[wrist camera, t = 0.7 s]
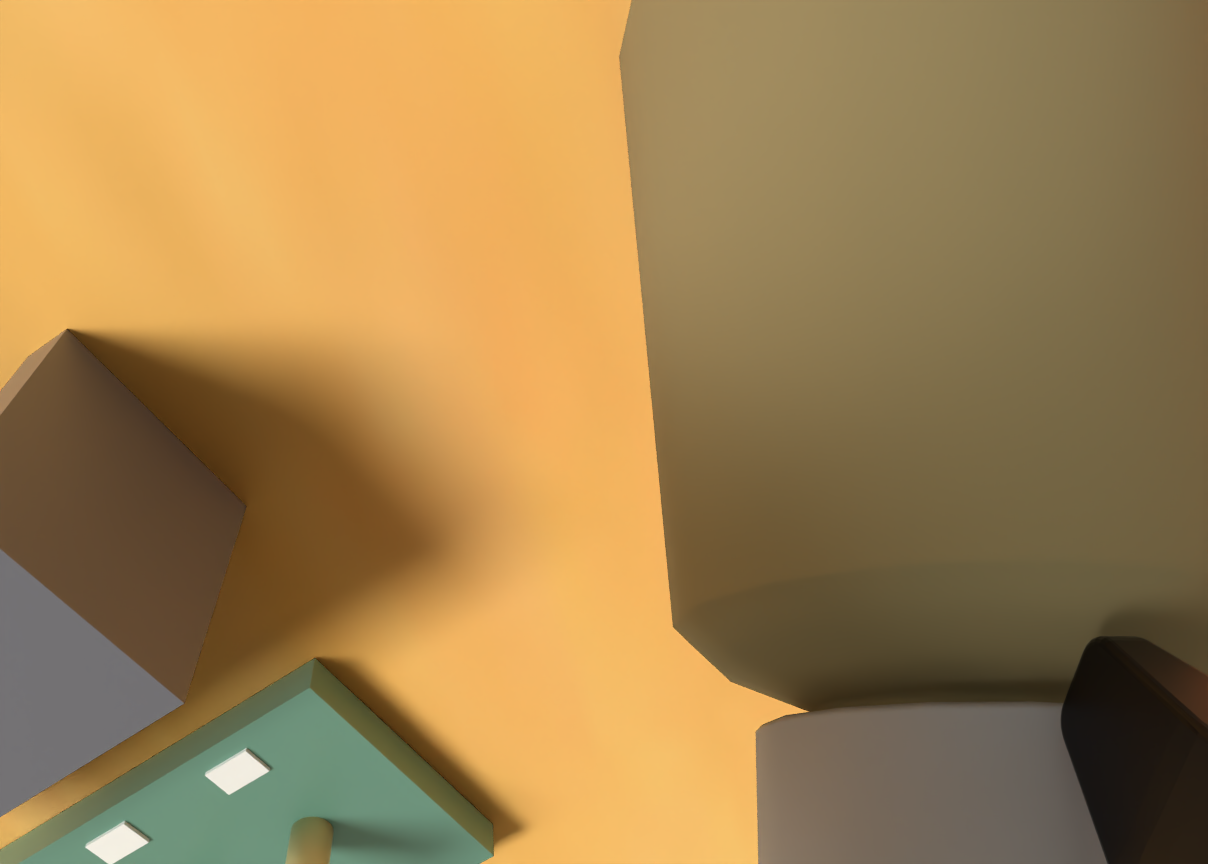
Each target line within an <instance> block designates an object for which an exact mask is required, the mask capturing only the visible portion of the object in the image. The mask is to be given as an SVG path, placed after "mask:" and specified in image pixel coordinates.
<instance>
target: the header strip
mask: <svg viewBox="0 0 1208 864" xmlns="http://www.w3.org/2000/svg"><path fill="white" fill-rule="evenodd" d="M493 856H494V843H493V824H492V823H491V822H490V821H489V820H488V819H487V818H486V817H484V816H483V815H482V814H481V813H480V812H479V811H478V810H477V809H476V808H475V807H474V806H473V805H472V804H471V803H469V802H468V801H467V800H466V799H465V798H464V797H463V796H462V795H461V794H460V793H459V792H458V791H457V790H456V789H455V788H453V787H452V786H451V785H450V784H449V783H448V782H447V781H446V780H445V779H444V778H443V777H442V776H441V775H440V774H438V773H437V772H436V771H435V770H434V769H433V768H432V767H431V766H430V765H429V764H428V763H427V762H426V761H425V760H423V759H422V758H421V757H420V756H419V755H418V754H417V753H416V752H415V751H414V750H413V749H412V748H411V747H410V746H408V745H407V744H406V743H405V742H404V741H403V740H402V739H401V738H400V737H399V736H398V735H397V734H396V733H395V732H394V731H392V730H391V729H390V728H389V727H388V726H387V725H386V724H385V723H384V722H383V721H382V720H381V719H380V718H379V717H377V716H376V715H375V714H374V713H373V712H372V711H371V710H370V709H369V708H368V707H367V706H366V705H365V704H364V703H362V702H361V701H360V700H359V699H358V698H357V697H356V696H355V695H354V694H353V693H352V692H351V691H350V690H349V689H348V688H346V687H345V686H344V685H343V684H342V683H341V682H340V681H339V680H338V679H337V678H336V677H335V676H334V675H333V674H331V673H330V672H329V671H328V670H327V669H326V668H325V667H324V666H323V665H322V664H321V663H320V662H319V661H318V660H316V659H315V658H314V659H313V660H311V661H309V662H308V663H306V664H304V665H303V666H301V667H299V668H298V669H296V670H294V671H293V672H291V673H290V674H288V675H286V676H285V677H283V678H281V679H280V680H278V681H276V682H275V683H273V684H272V685H270V686H268V687H267V688H265V689H263V690H262V691H260V692H258V693H257V694H255V695H253V696H252V697H250V698H249V699H247V700H245V701H244V702H242V703H240V704H239V705H237V706H235V707H234V708H232V709H230V710H229V711H227V712H226V713H224V714H222V715H221V716H219V717H217V718H216V719H214V720H212V721H211V722H209V723H207V724H206V725H204V726H203V727H201V728H199V729H198V730H196V731H194V732H193V733H191V734H189V735H188V736H186V737H184V738H183V739H181V740H180V741H178V742H176V743H175V744H173V745H171V746H170V747H168V748H166V749H165V750H163V751H161V752H160V753H158V754H157V755H155V756H153V757H152V758H150V759H148V760H147V761H145V762H143V763H142V764H140V765H139V766H137V767H135V768H134V769H132V770H130V771H129V772H127V773H125V774H124V775H122V776H120V777H119V778H117V779H116V780H114V781H112V782H111V783H109V784H107V785H106V786H104V787H102V788H101V789H99V790H97V791H96V792H94V793H93V794H91V795H89V796H88V797H86V798H84V799H83V800H81V801H79V802H78V803H76V804H74V805H73V806H71V807H70V808H68V809H66V810H65V811H63V812H61V813H60V814H58V815H56V816H55V817H53V818H51V819H50V820H48V821H47V822H45V823H43V824H42V825H40V826H38V827H37V828H35V829H33V830H32V831H30V832H29V833H27V834H25V835H24V836H22V837H20V838H19V839H17V840H15V841H14V842H12V843H10V844H9V845H7V846H6V847H4V848H2V849H1V850H0V864H480V863H482V862H484V861H485V860H487V859H489V858H491V857H493Z"/></svg>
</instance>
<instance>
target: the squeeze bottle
mask: <svg viewBox="0 0 1208 864" xmlns="http://www.w3.org/2000/svg"><path fill="white" fill-rule="evenodd" d="M619 59H620V70H621V80H622V91H623V101H624V112H625V123H626V133H627V144H628V154H629V165H630V176H631V186H632V197H633V207H634V218H635V229H636V239H637V250H638V261H639V271H640V282H641V292H642V303H643V314H644V324H645V335H646V345H647V356H648V367H649V377H650V388H651V398H652V409H653V420H654V430H655V441H656V451H657V462H658V473H659V483H660V494H661V504H662V515H663V526H664V536H665V547H666V557H667V568H668V579H669V589H670V600H671V610H672V621H673V627H674V628H675V629H676V630H677V631H678V632H679V633H680V634H681V635H682V636H683V637H684V638H685V639H686V640H687V641H688V642H689V643H690V644H691V645H692V646H693V647H694V648H695V649H696V650H697V651H699V652H700V653H701V654H702V655H703V656H704V657H705V658H706V659H707V660H708V661H709V662H710V663H711V664H712V665H714V666H715V667H716V668H717V669H718V670H719V671H720V672H721V673H722V674H723V675H724V676H725V677H726V678H728V679H729V680H730V681H731V682H733V683H736V684H738V685H741V686H743V687H746V688H749V689H751V690H754V691H756V692H759V693H762V694H764V695H767V696H770V697H772V698H775V699H777V700H780V701H783V702H785V703H788V704H791V705H793V706H796V707H798V708H801V709H804V710H806V711H809V712H806V713H799V714H792V715H785V716H783V717H780V718H778V719H775V720H773V721H770V722H768V723H765V724H763V725H762V726H761V727H760V728H759V729H758V730H757V731H756V769H757V818H758V864H1107V861H1106V858H1105V855H1104V853H1103V850H1102V847H1101V844H1100V841H1099V838H1098V836H1097V833H1096V830H1095V827H1094V824H1093V821H1092V819H1091V816H1090V813H1089V810H1088V807H1087V804H1086V802H1085V799H1084V796H1083V793H1082V790H1081V787H1080V785H1079V782H1078V779H1077V776H1076V773H1075V770H1074V768H1073V765H1072V762H1071V759H1070V756H1069V753H1068V751H1067V748H1066V745H1065V742H1064V739H1063V735H1062V730H1061V710H1062V706H1063V703H1064V700H1065V698H1066V695H1067V692H1068V690H1069V687H1070V685H1071V682H1072V679H1073V677H1074V674H1075V671H1076V669H1077V666H1078V664H1079V661H1080V658H1081V656H1082V653H1083V651H1084V649H1085V647H1086V645H1087V644H1088V643H1089V642H1090V641H1091V640H1092V639H1093V638H1096V637H1099V636H1136V637H1141V638H1144V639H1146V640H1148V641H1150V642H1152V643H1153V644H1155V645H1157V646H1158V647H1160V648H1162V649H1164V650H1165V651H1167V652H1169V653H1170V654H1172V655H1174V656H1175V657H1177V658H1179V659H1181V660H1182V661H1184V662H1186V663H1187V664H1189V665H1191V666H1192V667H1194V668H1196V669H1198V670H1199V671H1201V672H1203V673H1204V674H1206V675H1208V0H632V1H631V6H630V10H629V15H628V19H627V24H626V28H625V33H624V38H623V42H622V47H621V51H620V56H619Z"/></svg>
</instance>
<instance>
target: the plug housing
mask: <svg viewBox="0 0 1208 864" xmlns="http://www.w3.org/2000/svg"><path fill="white" fill-rule="evenodd" d="M246 507H247V506H246V505H245V504H244V503H243V502H242V501H241V500H240V499H239V498H238V497H237V496H236V495H235V494H234V493H233V492H232V491H230V490H229V489H228V488H227V487H226V486H225V485H224V484H223V483H222V482H221V481H220V480H219V479H218V478H217V477H216V476H215V475H214V474H213V473H212V472H211V471H210V470H209V469H208V468H207V467H206V466H205V465H204V464H203V463H202V462H201V461H200V460H199V459H198V458H197V457H196V456H195V455H194V454H193V453H192V452H191V451H190V450H189V449H188V448H187V447H186V446H185V445H184V444H183V443H182V442H181V441H180V440H179V439H178V438H177V437H176V436H175V435H174V434H173V433H172V432H171V431H170V430H169V429H168V428H167V427H166V426H165V425H164V424H163V423H162V422H161V421H160V420H159V419H158V418H157V417H156V416H155V415H154V414H153V413H152V412H151V411H150V410H149V409H148V408H147V407H146V406H144V405H143V404H142V403H141V402H140V401H139V400H138V399H137V398H136V397H135V396H134V395H133V394H132V393H131V392H130V391H129V390H128V389H127V388H126V387H125V386H124V385H123V384H122V383H121V382H120V381H119V380H118V379H117V378H116V377H115V376H114V375H113V374H112V373H111V372H110V371H109V370H108V369H107V368H106V367H105V366H104V365H103V364H102V363H101V362H100V361H99V360H98V359H97V358H96V357H95V356H94V355H93V354H92V353H91V352H90V351H89V350H88V349H87V348H86V347H85V346H84V345H83V344H82V343H81V342H80V341H79V340H78V339H77V338H76V337H75V336H74V335H73V334H72V333H71V332H70V331H69V330H68V329H66V330H65V331H63V332H62V333H60V334H59V335H58V336H56V337H55V338H53V339H52V340H51V341H49V342H48V343H46V344H45V345H44V346H42V347H41V348H39V349H38V350H37V351H35V352H34V353H32V354H31V355H30V356H28V357H27V359H26V360H25V361H24V362H23V364H22V365H21V366H20V367H19V369H18V370H17V371H16V372H15V373H14V375H13V376H12V377H11V378H10V380H9V381H8V382H7V383H6V385H5V386H4V387H3V388H2V390H1V391H0V817H1V816H3V815H4V814H6V813H7V812H9V811H11V810H12V809H14V808H16V807H17V806H19V805H20V804H22V803H24V802H25V801H27V800H29V799H30V798H32V797H33V796H35V795H37V794H38V793H40V792H42V791H43V790H45V789H46V788H48V787H50V786H51V785H53V784H55V783H56V782H58V781H59V780H61V779H63V778H64V777H66V776H67V775H69V774H71V773H72V772H74V771H76V770H77V769H79V768H80V767H82V766H84V765H85V764H87V763H89V762H90V761H92V760H93V759H95V758H97V757H98V756H100V755H102V754H103V753H105V752H106V751H108V750H110V749H111V748H113V747H115V746H116V745H118V744H119V743H121V742H123V741H124V740H126V739H128V738H129V737H131V736H132V735H134V734H136V733H137V732H139V731H140V730H142V729H144V728H145V727H147V726H149V725H150V724H152V723H153V722H155V721H157V720H158V719H160V718H162V717H163V716H165V715H166V714H168V713H170V712H171V711H173V710H175V709H176V708H178V707H179V706H181V705H183V704H184V703H185V700H186V697H187V694H188V690H189V687H190V684H191V681H192V678H193V675H194V671H195V668H196V665H197V662H198V659H199V656H200V652H201V649H202V646H203V643H204V640H205V637H206V633H207V630H208V627H209V624H210V621H211V618H212V614H213V611H214V608H215V605H216V602H217V599H218V595H219V592H220V589H221V586H222V583H223V580H224V576H225V573H226V570H227V567H228V564H229V561H230V557H231V554H232V551H233V548H234V545H235V542H236V538H237V535H238V532H239V529H240V526H241V523H242V519H243V516H244V513H245V510H246Z"/></svg>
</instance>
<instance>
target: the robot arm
mask: <svg viewBox="0 0 1208 864" xmlns="http://www.w3.org/2000/svg"><path fill="white" fill-rule="evenodd" d="M1061 730H1062V735H1063V739H1064V742H1065V745H1066V748H1067V751H1068V753H1069V756H1070V759H1071V762H1072V765H1073V768H1074V770H1075V773H1076V776H1077V779H1078V782H1079V785H1080V787H1081V790H1082V793H1083V796H1084V799H1085V802H1086V804H1087V807H1088V810H1089V813H1090V816H1091V819H1092V821H1093V824H1094V827H1095V830H1096V833H1097V836H1098V838H1099V841H1100V844H1101V847H1102V850H1103V853H1104V855H1105V858H1106V861H1107V864H1208V675H1206V674H1204V673H1203V672H1201V671H1199V670H1198V669H1196V668H1194V667H1192V666H1191V665H1189V664H1187V663H1186V662H1184V661H1182V660H1181V659H1179V658H1177V657H1175V656H1174V655H1172V654H1170V653H1169V652H1167V651H1165V650H1164V649H1162V648H1160V647H1158V646H1157V645H1155V644H1153V643H1152V642H1150V641H1148V640H1146V639H1144V638H1141V637H1136V636H1099V637H1096V638H1093V639H1092V640H1091V641H1090V642H1089V643H1088V644H1087V645H1086V647H1085V649H1084V651H1083V653H1082V656H1081V658H1080V661H1079V664H1078V666H1077V669H1076V671H1075V674H1074V677H1073V679H1072V682H1071V685H1070V687H1069V690H1068V692H1067V695H1066V698H1065V700H1064V703H1063V706H1062V710H1061Z"/></svg>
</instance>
